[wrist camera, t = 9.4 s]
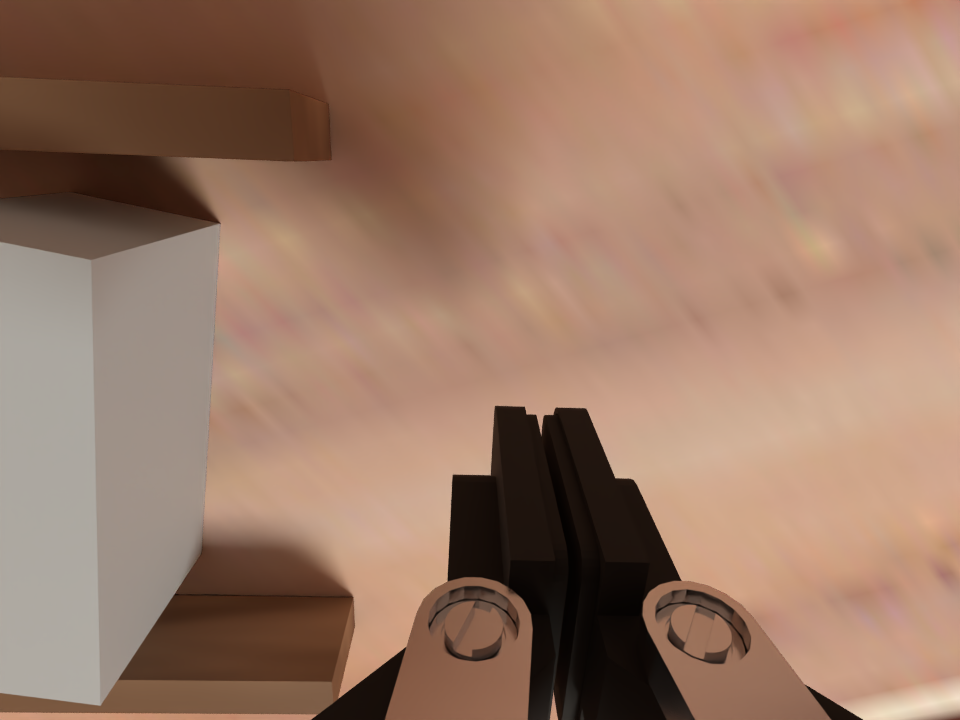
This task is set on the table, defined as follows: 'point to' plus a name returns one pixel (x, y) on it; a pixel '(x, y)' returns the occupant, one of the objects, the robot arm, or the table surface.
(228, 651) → the corral
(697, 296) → the table surface
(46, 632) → the tee block
